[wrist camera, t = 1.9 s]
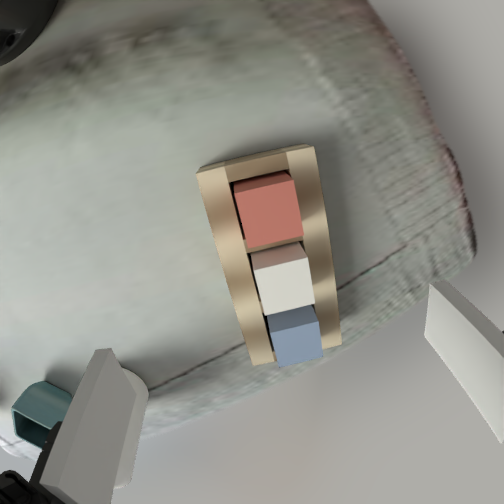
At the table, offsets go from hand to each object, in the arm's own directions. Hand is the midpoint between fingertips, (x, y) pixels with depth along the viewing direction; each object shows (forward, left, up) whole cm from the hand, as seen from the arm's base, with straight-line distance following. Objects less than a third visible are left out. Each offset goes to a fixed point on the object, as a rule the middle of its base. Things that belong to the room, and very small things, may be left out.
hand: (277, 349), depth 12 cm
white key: (+4, +4, -19) cm, 20 cm away
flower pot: (+36, -21, -21) cm, 47 cm away
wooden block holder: (+4, +4, -21) cm, 22 cm away
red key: (-2, +1, -19) cm, 19 cm away
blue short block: (+10, +7, -19) cm, 23 cm away
